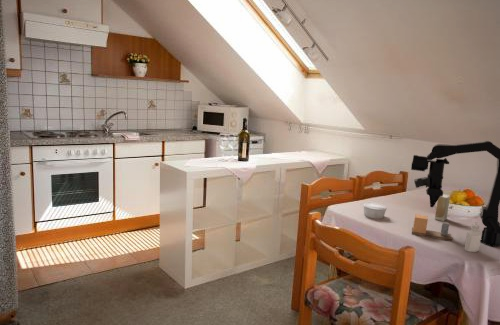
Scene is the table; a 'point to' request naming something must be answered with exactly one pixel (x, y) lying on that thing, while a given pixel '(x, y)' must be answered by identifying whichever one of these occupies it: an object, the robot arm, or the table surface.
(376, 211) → the ramekin
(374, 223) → the table surface
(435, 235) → the board
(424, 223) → the orange block
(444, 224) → the near post
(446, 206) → the skincare box
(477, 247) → the eye dropper bottle
